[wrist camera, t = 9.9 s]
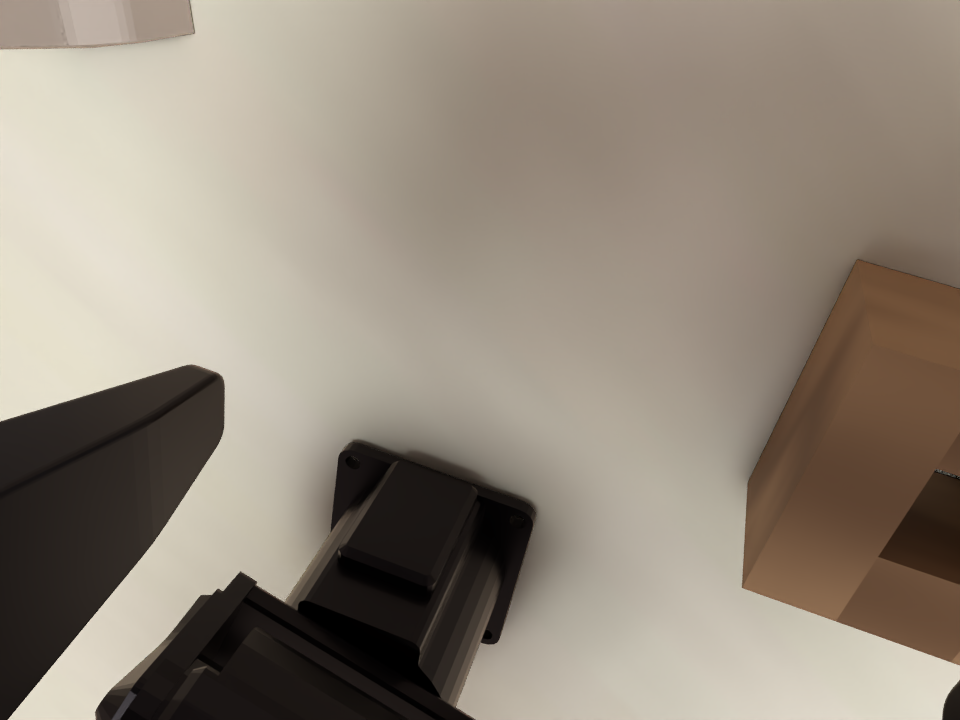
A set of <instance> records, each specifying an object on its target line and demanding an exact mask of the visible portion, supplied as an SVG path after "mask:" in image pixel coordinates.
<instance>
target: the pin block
mask: <svg viewBox="0 0 960 720" xmlns="http://www.w3.org/2000/svg"><path fill="white" fill-rule="evenodd" d="M935 469H939V470H942V471H945V472H948V473H951V474H954V475H957V476H960V289H958V288H954V287H951V286H947V285H944V284H940V283H937V282H933V281H930V280H926V279H923V278H919V277H916V276H913V275H909V274H906V273H902V272H899V271H895V270H892V269H888V268H885V267H881V266H878V265H874V264H871V263H867V262H864V261H860V260H857V261H856V263H855V265H854V267H853V269H852V271H851V273H850V275H849V277H848V279H847V281H846V283H845V285H844V287H843V289H842V291H841V293H840V295H839V297H838V300H837V302H836V304H835V306H834V308H833V310H832V312H831V314H830V316H829V318H828V320H827V322H826V324H825V326H824V328H823V330H822V332H821V334H820V336H819V338H818V340H817V342H816V344H815V346H814V349H813V351H812V353H811V355H810V357H809V359H808V361H807V363H806V365H805V367H804V369H803V371H802V373H801V375H800V377H799V379H798V381H797V383H796V385H795V387H794V389H793V391H792V393H791V395H790V398H789V400H788V402H787V404H786V406H785V408H784V410H783V412H782V414H781V416H780V418H779V420H778V422H777V424H776V426H775V428H774V430H773V432H772V434H771V436H770V438H769V440H768V442H767V444H766V447H765V449H764V451H763V453H762V455H761V457H760V459H759V461H758V463H757V465H756V467H755V469H754V471H753V473H752V475H751V477H750V479H749V481H748V486H747V505H746V524H745V542H744V561H743V580H742V588H744V589H747V590H750V591H752V592H755V593H758V594H761V595H764V596H766V597H769V598H772V599H775V600H778V601H780V602H783V603H786V604H789V605H792V606H794V607H797V608H800V609H803V610H806V611H809V612H811V613H814V614H817V615H820V616H823V617H825V618H828V619H831V620H834V621H837V622H839V623H842V624H845V625H848V626H851V627H854V628H856V629H859V630H862V631H865V632H868V633H870V634H873V635H876V636H879V637H882V638H884V639H887V640H890V641H893V642H896V643H898V644H901V645H904V646H907V647H910V648H913V649H915V650H918V651H921V652H924V653H927V654H929V655H932V656H935V657H938V658H941V659H943V660H946V661H949V662H952V663H955V664H957V665H960V480H958V479H955V478H952V477H949V476H946V475H942V474H939V473H936V472H934V471H935Z"/></svg>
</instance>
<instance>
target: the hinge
mask: <svg viewBox="0 0 960 720" xmlns="http://www.w3.org/2000/svg"><path fill="white" fill-rule="evenodd" d="M188 34H194V29H193V22H192V16H191V10H190V4H189V0H0V49H50V48H96V47H105V46H114V45H123V44H133V43H141V42H148V41H153V40H159V39H165V38H171V37H176V36H182V35H188Z"/></svg>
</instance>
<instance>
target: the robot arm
mask: <svg viewBox="0 0 960 720" xmlns="http://www.w3.org/2000/svg"><path fill="white" fill-rule="evenodd" d="M224 400H225V385H224V380H223V377H222V376H221V375H220V374H218V373H217V372H214V371H211V370H208V369H205V368H202V367H200V366H197V365H186V366H182V367H179V368H175V369H172V370H169V371H165V372H162V373H159V374H156V375H152V376H149V377H146V378H142V379H139V380H136V381H132V382H129V383H126V384H123V385H119V386H116V387H113V388H109V389H106V390H103V391H100V392H96V393H93V394H90V395H86V396H83V397H80V398H76V399H73V400H70V401H67V402H63V403H60V404H57V405H53V406H50V407H47V408H44V409H40V410H37V411H34V412H30V413H27V414H24V415H20V416H17V417H14V418H11V419H7V420H4V421H1V422H0V720H8V719H9V717H10V716H11V715H12V714H13V712H14V711H15V710H16V709H17V708H18V706H19V705H20V704H21V703H22V702H23V700H24V699H25V698H26V697H27V696H28V694H29V693H30V692H31V691H32V689H33V688H34V687H35V686H36V685H37V683H38V682H39V681H40V680H41V679H42V677H43V676H44V675H45V674H46V673H47V671H48V670H49V669H50V668H51V666H52V665H53V664H54V663H55V662H56V660H57V659H58V658H59V657H60V656H61V654H62V653H63V652H64V651H65V650H66V648H67V647H68V646H69V645H70V643H71V642H72V641H73V640H74V639H75V637H76V636H77V635H78V634H79V633H80V631H81V630H82V629H83V628H84V627H85V625H86V624H87V623H88V622H89V621H90V619H91V618H92V617H93V616H94V614H95V613H96V612H97V611H98V610H99V608H100V607H101V606H102V605H103V604H104V602H105V601H106V600H107V599H108V598H109V596H110V595H111V594H112V593H113V591H114V590H115V589H116V588H117V587H118V585H119V584H120V583H121V582H122V581H123V579H124V578H125V577H126V576H127V575H128V573H129V572H130V571H131V570H132V568H133V567H134V566H135V565H136V564H137V562H138V561H139V560H140V559H141V558H142V556H143V555H144V554H145V552H146V551H147V550H148V549H149V547H150V546H151V545H152V544H153V542H154V541H155V539H156V538H157V537H158V535H159V534H160V532H161V531H162V529H163V528H164V527H165V525H166V524H167V522H168V520H169V519H170V517H171V516H172V514H173V513H174V511H175V510H176V508H177V507H178V505H179V504H180V502H181V501H182V499H183V498H184V496H185V494H186V493H187V491H188V490H189V488H190V487H191V485H192V484H193V482H194V481H195V479H196V478H197V476H198V475H199V473H200V472H201V470H202V468H203V467H204V465H205V464H206V462H207V461H208V459H209V458H210V456H211V455H212V453H213V452H214V450H215V449H216V447H217V445H218V444H219V442H220V440H221V437H222V434H223V430H224ZM353 457H355V458H357V459H358V460H359V461H356V460H354V459H353ZM514 515H517V516H520V517H522V518H523V519H524V520H521V519H518V518H516V517H515V516H514ZM535 521H536V512H535V510H534V509H533V508H532V507H531V506H530V505H529V504H527V503H525V502H523V501H520V500H518V499H515V498H512V497H509V496H506V495H504V494H501V493H498V492H495V491H492V490H489V489H487V488H484V487H481V486H478V485H475V484H472V483H470V482H467V481H464V480H461V479H458V478H456V477H453V476H450V475H447V474H444V473H441V472H439V471H436V470H433V469H430V468H427V467H424V466H422V465H419V464H416V463H413V462H410V461H408V460H405V459H402V458H399V457H396V456H393V455H391V454H388V453H385V452H382V451H379V450H376V449H374V448H371V447H368V446H365V445H362V444H359V443H349V444H348V445H346V446H345V447H344V449H343V450H342V452H341V453H340V455H339V458H338V467H337V476H336V486H335V495H334V505H333V514H332V524H331V533H330V535H329V536H328V538H327V539H326V541H325V542H324V544H323V545H322V547H321V548H320V550H319V551H318V553H317V554H316V556H315V557H314V559H313V560H312V562H311V563H310V565H309V566H308V568H307V569H306V571H305V572H304V574H303V575H302V577H301V578H300V580H299V581H298V583H297V584H296V586H295V587H294V589H293V590H292V592H291V593H290V595H289V596H288V598H287V599H286V601H285V602H283V601H281V600H280V599H278V598H276V597H275V596H273V595H271V594H270V593H268V592H267V591H265V590H263V589H262V588H260V587H258V586H257V585H256V584H257V581H255V580H254V579H252V578H250V577H249V576H247V575H245V574H244V573H242V572H240V573H239V574H238V575H237V576H236V577H235V578H234V579H233V581H232V582H231V583H230V584H229V585H228V586H227V588H226V589H225V590H224V591H221V590H220V589H217V590H216V591H215V592H214V593H213V595H201V596H200V597H199V598H198V599H197V601H196V602H195V603H194V605H193V606H192V607H191V608H190V610H189V611H188V612H187V613H186V615H185V616H184V617H183V619H182V620H181V621H180V622H179V624H178V625H177V626H176V627H175V629H174V630H173V631H172V632H171V633H170V635H169V636H168V637H167V638H166V639H165V640H164V641H163V642H162V643H161V644H160V645H159V646H158V647H157V648H156V649H155V650H154V651H153V652H152V653H151V654H150V655H148V656H147V657H146V658H145V659H144V660H143V661H142V662H141V663H139V664H138V665H137V666H136V667H135V668H134V669H133V670H132V671H131V672H129V673H128V674H127V675H126V676H125V677H124V678H123V679H122V680H121V681H119V682H118V683H117V684H116V685H115V686H114V687H113V688H112V689H111V690H110V691H109V692H108V693H107V695H106V696H105V697H104V698H103V700H102V701H101V703H100V704H99V706H98V708H97V709H96V712H95V716H96V720H475V719H474V718H472V717H470V716H469V715H467V714H466V713H464V712H462V711H461V710H459V709H457V708H456V705H457V702H458V700H459V697H460V694H461V692H462V689H463V686H464V684H465V681H466V679H467V676H468V673H469V671H470V668H471V666H472V663H473V660H474V658H475V655H476V653H477V650H478V647H479V645H480V642H481V643H484V644H495V643H497V642H498V640H499V638H500V636H501V633H502V630H503V627H504V623H505V620H506V617H507V613H508V610H509V607H510V603H511V600H512V597H513V594H514V590H515V587H516V584H517V580H518V577H519V574H520V570H521V567H522V564H523V560H524V557H525V554H526V551H527V547H528V544H529V541H530V537H531V534H532V531H533V527H534V524H535ZM942 720H960V680H959V682H958V683H957V684H956V685H955V686H954V687H953V689H952V690H951V691H950V693H949V694H948V696H947V698H946V701H945V704H944V708H943V716H942Z"/></svg>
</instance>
